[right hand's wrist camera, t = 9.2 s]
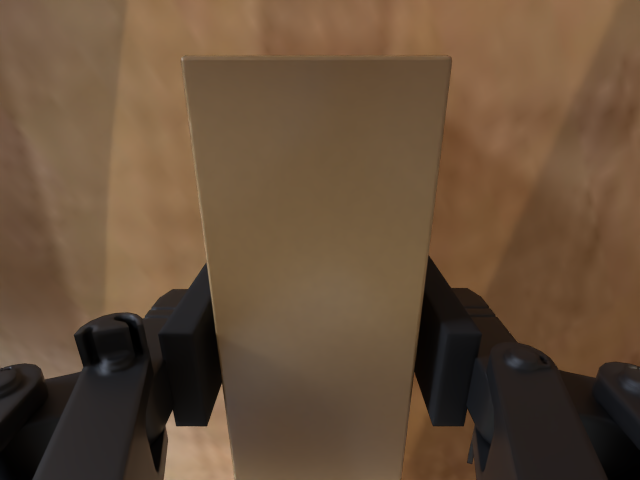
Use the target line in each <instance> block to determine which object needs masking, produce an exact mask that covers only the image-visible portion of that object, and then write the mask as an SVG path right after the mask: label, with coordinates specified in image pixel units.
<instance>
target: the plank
mask: <svg viewBox="0 0 640 480" xmlns="http://www.w3.org/2000/svg"><path fill="white" fill-rule="evenodd" d="M451 66H452V59H451V57H450V56H448V55H185V56H183V57H182V58H181V67H182V75H183V82H184V90H185V98H186V106H187V113H188V121H189V129H190V137H191V144H192V152H193V160H194V168H195V175H196V183H197V191H198V199H199V207H200V214H201V222H202V230H203V238H204V245H205V253H206V261H207V269H208V276H209V284H210V292H211V300H212V307H213V315H214V323H215V331H216V338H217V346H218V354H219V362H220V370H221V377H222V385H223V393H224V401H225V408H226V416H227V424H228V432H229V439H230V447H231V455H232V463H233V470H234V478H235V480H401V476H402V468H403V459H404V451H405V443H406V435H407V427H408V418H409V410H410V402H411V394H412V386H413V377H414V369H415V361H416V353H417V345H418V336H419V328H420V320H421V312H422V304H423V295H424V287H425V279H426V271H427V263H428V254H429V246H430V238H431V230H432V222H433V213H434V205H435V197H436V189H437V181H438V172H439V164H440V156H441V148H442V140H443V131H444V123H445V115H446V107H447V99H448V90H449V82H450V74H451Z"/></svg>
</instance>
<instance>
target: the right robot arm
mask: <svg viewBox="0 0 640 480" xmlns="http://www.w3.org/2000/svg"><path fill="white" fill-rule="evenodd" d="M74 337H75V341H76V344H77V347H78V351H79V354H80V357H81V360H82V364H83V369H82V371H81V372H78V373H74V374H69V375H64V376H60V377H55V378H50V379H44V376H43V373H42V371H41V369H40V368H39V367H38V366H36V365H34V364H18V365H11V366H7V367H4V368H0V480H164V471H165V462H166V453H167V445H168V437H167V431H166V426H165V425H166V423H167V421H168V419H169V416H170V414H171V412H172V410H173V413H174V418H175V423H176V426H207V425H208V422H209V419H210V416H211V413H212V410H213V407H214V404H215V401H216V398H217V395H218V392H219V390H220V387H221V384H222V377H221V370H220V362H219V354H218V346H217V338H216V331H215V323H214V315H213V307H212V300H211V292H210V284H209V276H208V269H207V262H206V264H205V265H204V267H203V268H202V270H201V271H200V273H199V274H198V276H197V277H196V279H195V280H194V281H193V283H192V284H191V286H190V287H189V289H172V290H171V291H169V292H168V293H166V294H165V295H163V296H162V297H160V298H159V299H158V300H157V302H156V303H155V304H154V305H153V307H152V309H151V310H149V312H148V313H147V314H146V315H145V318H143V319H142V318H141V317H140V316H138V315H137V314H133V313H114V314H110V315H105V316H102V317H100V318H97V319H95V320H92V321H90V322H89V323H87V324H85V325H84V326H82V327H81V328H80V329H79V330H78V331H77V332H76V333H75V334H74ZM414 372H415V375H416V378H417V381H418V384H419V387H420V390H421V392H422V395H423V398H424V401H425V404H426V407H427V410H428V413H429V416H430V419H431V422H432V425H433V426H464V423H465V418H466V413H467V408H468V410H469V412H470V415H471V417H472V419H473V421H474V423H475V426H474V431H473V436H472V440H471V445H470V450H469V454H468V461H467V463H470V464H472V462H473V458H474V461H475V470H476V479H477V480H640V367H639V366H636V365H632V364H627V363H620V362H610V363H605V364H603V365H602V366H601V367H600V368H599V371H598V373H597V376H596V378H593V377H588V376H583V375H579V374H574V373H569V372H565V371H561V370H558V368H557V366H556V365H555V364H554V362H553V361H552V360H551V358H549V357H548V356H547V355H545V354H544V353H543V352H541V351H539V350H537V349H535V348H533V347H531V346H528V345H525V344H521V343H517V341H516V340H515V339H514V338H513V336H512V335H511V334H510V333H509V331H508V330H507V329H506V328H505V326H504V325H503V324H502V323H501V321H500V320H499V319H498V318H497V317H495V314H494V313H493V311H492V310H491V309H489V306H488V305H487V304H486V303H485V301H484V300H483V299H482V298H481V296H479V295H477V294H476V293H474V292H473V291H471V290H470V289H468V288H451V287H450V286H449V284H448V283H447V281H446V280H445V279H444V277H443V276H442V274H441V273H440V271H439V270H438V268H437V267H436V265H435V264H434V262H433V261H432V259H431V258H430V256H429V255H428V263H427V271H426V279H425V287H424V295H423V304H422V312H421V320H420V328H419V336H418V345H417V353H416V361H415V369H414Z"/></svg>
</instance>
